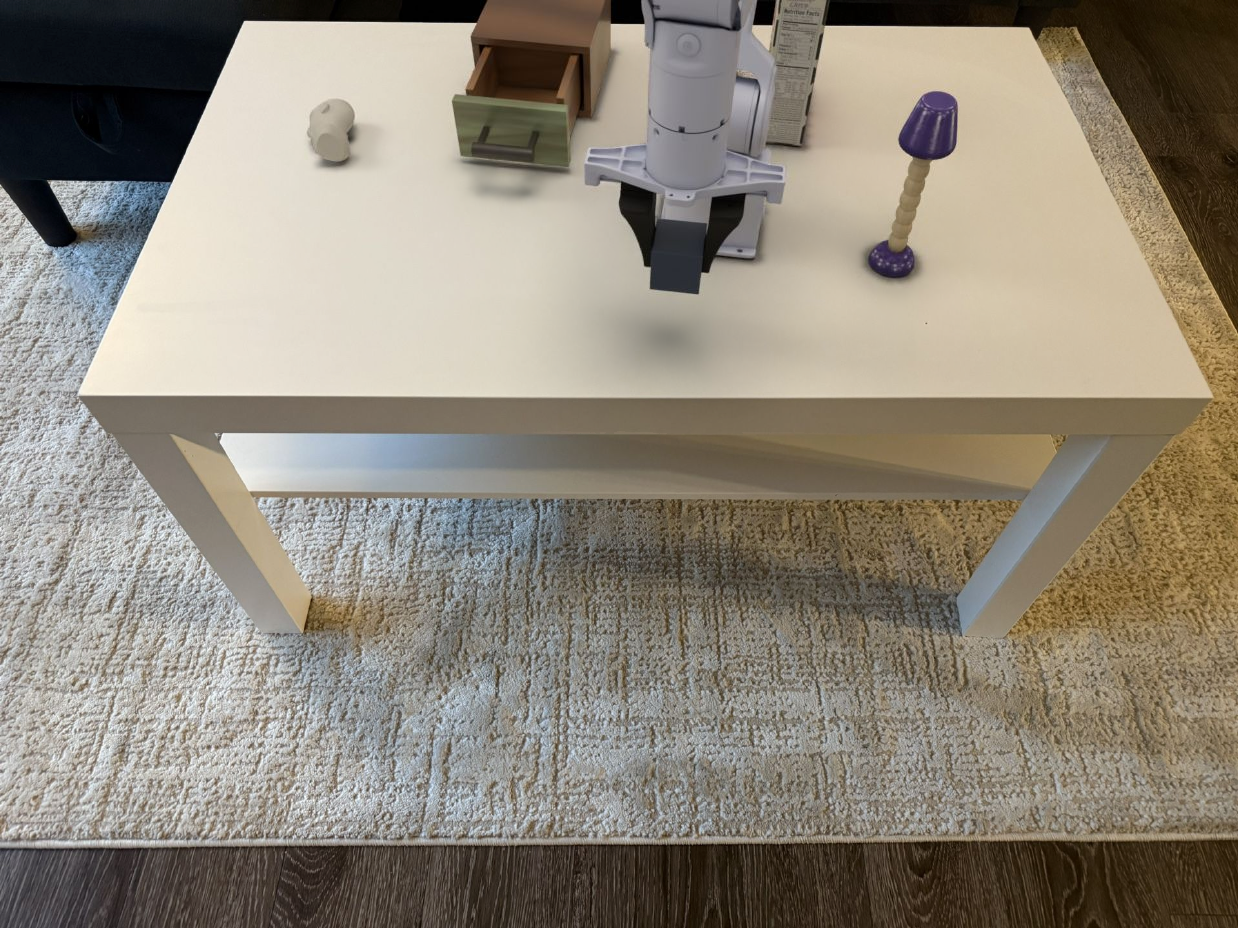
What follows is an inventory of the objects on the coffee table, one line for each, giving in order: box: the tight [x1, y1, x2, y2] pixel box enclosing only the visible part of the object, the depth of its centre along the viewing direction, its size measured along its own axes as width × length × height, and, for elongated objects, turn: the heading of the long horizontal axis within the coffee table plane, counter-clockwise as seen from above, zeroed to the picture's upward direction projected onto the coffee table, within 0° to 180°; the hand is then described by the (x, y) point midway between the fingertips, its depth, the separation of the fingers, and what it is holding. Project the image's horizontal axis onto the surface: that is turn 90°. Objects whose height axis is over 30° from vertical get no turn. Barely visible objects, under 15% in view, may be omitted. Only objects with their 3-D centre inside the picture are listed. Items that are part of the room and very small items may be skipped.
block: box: [649, 217, 707, 295], centre depth 70 cm, size 4×4×4 cm
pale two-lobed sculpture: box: [306, 98, 356, 162], centre depth 91 cm, size 4×8×5 cm
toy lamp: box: [868, 90, 959, 278], centre depth 75 cm, size 5×5×17 cm
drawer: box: [451, 45, 583, 168], centre depth 89 cm, size 17×11×6 cm
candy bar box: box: [765, 0, 831, 147], centre depth 89 cm, size 11×5×16 cm, turn 171°
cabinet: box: [470, 0, 612, 119], centre depth 96 cm, size 14×13×8 cm
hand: (677, 261), depth 70 cm, fingers closed on block, 4 cm apart
